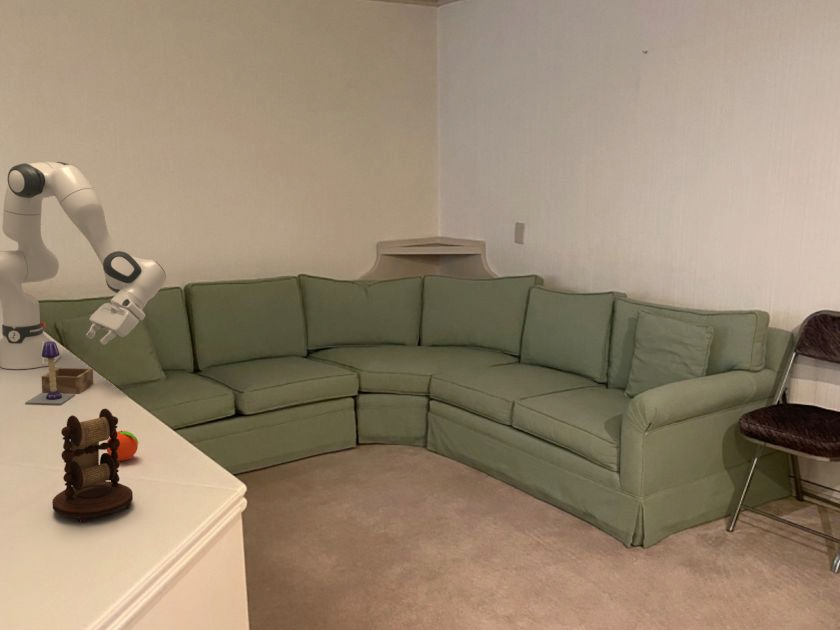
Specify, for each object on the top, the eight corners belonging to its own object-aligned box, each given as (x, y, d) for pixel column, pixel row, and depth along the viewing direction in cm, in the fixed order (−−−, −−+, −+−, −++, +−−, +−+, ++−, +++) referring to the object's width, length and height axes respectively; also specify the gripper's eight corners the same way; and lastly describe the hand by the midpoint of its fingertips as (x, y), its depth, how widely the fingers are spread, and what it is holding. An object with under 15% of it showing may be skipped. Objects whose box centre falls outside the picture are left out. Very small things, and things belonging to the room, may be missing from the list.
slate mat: (40, 394, 233) (40, 393, 232) (75, 395, 233) (75, 393, 233) (25, 404, 223) (25, 402, 223) (60, 405, 223) (60, 403, 223)
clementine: (148, 457, 185) (147, 428, 184) (130, 467, 179) (129, 437, 177) (119, 453, 187) (118, 424, 186) (100, 463, 181) (99, 433, 179)
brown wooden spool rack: (108, 488, 167) (105, 397, 163) (147, 508, 157) (145, 412, 154) (39, 509, 155) (34, 412, 152) (76, 532, 146) (72, 429, 143)
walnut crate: (57, 383, 245) (57, 367, 244) (93, 384, 246) (92, 368, 245) (42, 392, 234) (41, 376, 234) (79, 393, 235) (78, 377, 234)
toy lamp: (56, 400, 225) (54, 344, 222) (40, 400, 225) (37, 343, 222) (64, 396, 230) (62, 340, 227) (49, 395, 230) (46, 340, 227)
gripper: (104, 293, 246) (73, 327, 241) (133, 304, 232) (101, 340, 227) (118, 306, 250) (88, 340, 245) (148, 317, 236) (117, 353, 230)
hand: (94, 340), depth 235 cm, fingers open, 8 cm apart
